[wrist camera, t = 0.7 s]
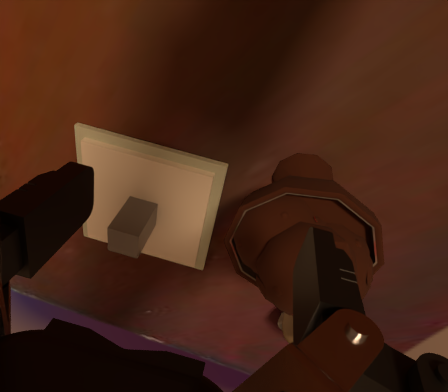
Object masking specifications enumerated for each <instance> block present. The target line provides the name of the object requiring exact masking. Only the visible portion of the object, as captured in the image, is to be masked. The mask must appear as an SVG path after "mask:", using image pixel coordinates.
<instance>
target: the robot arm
mask: <svg viewBox="0 0 448 392" xmlns="http://www.w3.org/2000/svg"><path fill="white" fill-rule="evenodd" d="M93 205H94V169H93V168H92V167H90V166H87V165H83V164H79V163H76V162H69V163H67V164H66V165H64V166H63V167H61V168H60V169H58V170H57V171H50V172H47V173H44V174H40V175H38V176H36V177H35V178H33V179H32V180H30V181H29V182H28V184H24V185H23V186H21V187H20V188H19V190H18V189H17V190H15V191H14V192H12V193H11V194H9V195H8V196H6V197H5V198H3V199H1V200H0V392H223V391H222V390H221V389H220V388H219V387H218V386H217V385H216V384H215V383H213V382H212V381H211V380H209V379H208V378H206V377H205V376H203V370H204V366H205V362H202V361H199V360H195V359H192V358H188V357H185V356H181V355H178V354H175V353H171V352H167V351H149V350H128V349H123V348H121V347H119V346H118V345H116V344H114V343H113V342H111V341H109V340H108V339H106V338H104V337H103V336H101V335H100V334H98V333H96V332H94V331H93V330H91V329H89V328H86V327H82V326H79V325H76V324H72V323H68V322H65V321H62V320H58V319H55V318H53V319H52V320H51V322H50V323H49V324H48V326H47V327H46V328H45V329H44V330H29V331H22V332H17V333H13V334H11V296H10V295H11V287H10V279H11V278H12V277H13V276H15V275H19V276H23V277H26V278H30V279H31V278H32V277H33V276H34V275H35V273H36V272H37V271H38V270H39V269H40V268H41V267H42V266H43V265H44V264H45V263H46V262H47V261H48V260H49V259H50V258H51V257H52V256H53V255H54V254H55V253H56V252H57V251H58V250H59V249H60V248H61V246H62V245H63V244H64V243H65V242H66V241H67V240H68V239H69V238H70V237H71V236H72V235H73V234H74V233H75V232H76V231H77V230H78V229H79V228H80V227H81V226H82V225H83V224H84V223H85V222H86V221H87V219H88V218H89V217H90V215H91V213H92V210H93ZM232 392H448V359H447V358H445V357H443V356H441V355H438V354H434V353H425V354H422V355H421V356H420V357H419V358H418V359H417V360H416V361H415V360H413V359H411V358H409V357H408V356H406V355H404V354H402V353H400V352H399V351H397V350H395V349H393V348H392V347H390V346H388V345H387V344H386V343H384V338H383V335H382V332H381V331H380V329H379V328H378V326H377V325H376V324H375V323H374V322H373V321H372V320H371V319H370V318H368V317H367V316H366V315H365V311H364V307H363V303H362V299H361V295H360V291H359V287H358V284H357V278H356V275H355V270H354V266H353V262H352V260H351V259H350V257H349V256H348V255H347V253H346V252H345V251H344V250H342V249H339V248H336V247H335V242H334V236H333V233H332V232H330V231H326V230H322V229H319V228H315V227H310V228H309V230H308V232H307V235H306V237H305V239H304V242H303V244H302V247H301V249H300V252H299V254H298V257H297V259H296V262H295V265H294V270H293V342H292V343H290V344H288V345H287V346H285V347H284V348H283V349H282V350H281V351H279V352H278V353H277V354H276V355H275V356H274V357H272V358H271V359H270V360H269V361H268V362H266V363H265V364H264V365H263V366H262V367H261V368H259V369H258V370H257V371H256V372H255V373H254V374H252V375H251V376H250V377H249V378H248V379H246V380H245V381H244V382H243V383H242V384H241V385H239V386H238V387H237V388H236V389H235V390H234V391H232Z"/></svg>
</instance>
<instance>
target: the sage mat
mask: <svg viewBox="0 0 448 392" xmlns="http://www.w3.org/2000/svg"><path fill="white" fill-rule="evenodd" d="M74 127H75V139H76V151H77V162H78V163H79V164H82V153H81V140H82V139H83V138H85V137H86V138H90V139H93V140H97V141H101V142H104V143H108V144H112V145H115V146H119V147H122V148H126V149H130V150H133V151H137V152H140V153H144V154H148V155H151V156H155V157H159V158H162V159H166V160H169V161H173V162H177V163H180V164H184V165H188V166H191V167H195V168H198V169H202V170H206V171H209V172H213V173H215V176H214V181H213V185H212V190H211V195H210V199H209V204H208V209H207V213H206V218H205V223H204V227H203V232H202V237H201V241H200V246H199V251H198V255H197V260H196V264H195V267H194V268H196V269H200V270H203V268H204V265H205V261H206V256H207V252H208V248H209V244H210V240H211V235H212V231H213V227H214V223H215V219H216V215H217V210H218V206H219V202H220V198H221V194H222V189H223V185H224V181H225V177H226V173H227V168H228V164H227V163H223V162H220V161H216V160H212V159H209V158H205V157H201V156H198V155H194V154H190V153H187V152H183V151H180V150H176V149H172V148H169V147H165V146H161V145H158V144H154V143H150V142H147V141H143V140H139V139H136V138H132V137H129V136H125V135H121V134H118V133H114V132H110V131H107V130H103V129H99V128H96V127H92V126H89V125H85V124H81V123H76V124H75V125H74ZM83 232H84V236H85V237H88V232H87V221H86V222H85V223H84V224H83ZM92 239H93V238H92ZM99 241H100V240H99ZM102 242H103V241H102ZM106 243H107V242H106ZM144 254H145V253H144ZM151 256H152V255H151ZM154 257H155V256H154ZM158 258H159V257H158ZM161 259H162V258H161ZM165 260H166V259H165ZM168 261H169V260H168ZM172 262H173V261H172ZM175 263H176V262H175ZM182 265H183V264H182ZM189 267H190V266H189Z"/></svg>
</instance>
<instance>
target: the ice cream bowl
mask: <svg viewBox="0 0 448 392" xmlns="http://www.w3.org/2000/svg"><path fill="white" fill-rule="evenodd" d="M273 180H274V183H272V184H270V185H267V186H265V187H263V188H261V189H259V190H256V191H254V192H253V193H251V194H250V195H248V196H246V198H245V199H244V201H243V202H242V204H241V206H240V207H239V209H238V211H237V214H236V216H235V218H234V220H233V222H232V224H231V226H230V228H229V230H228V232H227V234H226V236H225V239H224V243H225V245H226V248H227V250H228V253H229V255H230V258H231V260H232V263H233V265H234V268H235V270H236V273H237V274H239V275H240V276H242V277H243V278H245V279H246V280H248V281H249V282H251V283H252V284H254V285H255V286H257V287H258V288H259V289H260V291H261V293H262V294H263V296H264V297H265V299H267V300H268V301H270V302H271V303H273V304H274V305H275V306H276V307H277V308H278V309H279V310H280V311H283V312H285V313H286V314H288V315H292V316H293V270H294V265H295V262H296V259H297V257H298V254H299V252H300V249H301V247H302V244H303V242H304V239H305V237H306V235H307V232H308V230H309V228H310V227H315V228H319V229H322V230H326V231H330V232H332V233H333V236H334V242H335V247H336V248H339V249H342V250H344V251H345V252H346V253H347V255H348V256H349V257H350V259H351V260H352V262H353V266H354V270H355V275H356V278H357V284H358V287H359V291H360V295H361V299H363V298H364V297H365V295H366V293H367V292H368V290H369V288H370V285H371V282H372V281H373V275H374V274H375V273H376V272H377V271H378V270H379V268H380V267H381V266H382V265H383V264H384V255H383V241H382V228H381V224H380V222H379V221H378V219H377V218H376V216H375V214H374V213H373V212H372V211H371V210H370V209H368V208H367V207H366V206H365V205H363V204H362V203H361V202H360V201H358V200H357V199H356V198H355V197H354V196H352V195H351V194H350V193H349V192H347V191H346V190H345V189H344V188H343V187H341V186H340V185H339V184H338V183H336V182H335V181H333V175H332V169H331V166H330V165H328V164H327V163H326V162H325V161H323V160H322V159H321V158H320V157H319V156H317V155H310V154H300V153H297V154H294V155H292V156H290V157H288V158H286V159H284V160H282V161H280V162H279V164H278V166H277V168H276V170H275V172H274V174H273Z"/></svg>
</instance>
